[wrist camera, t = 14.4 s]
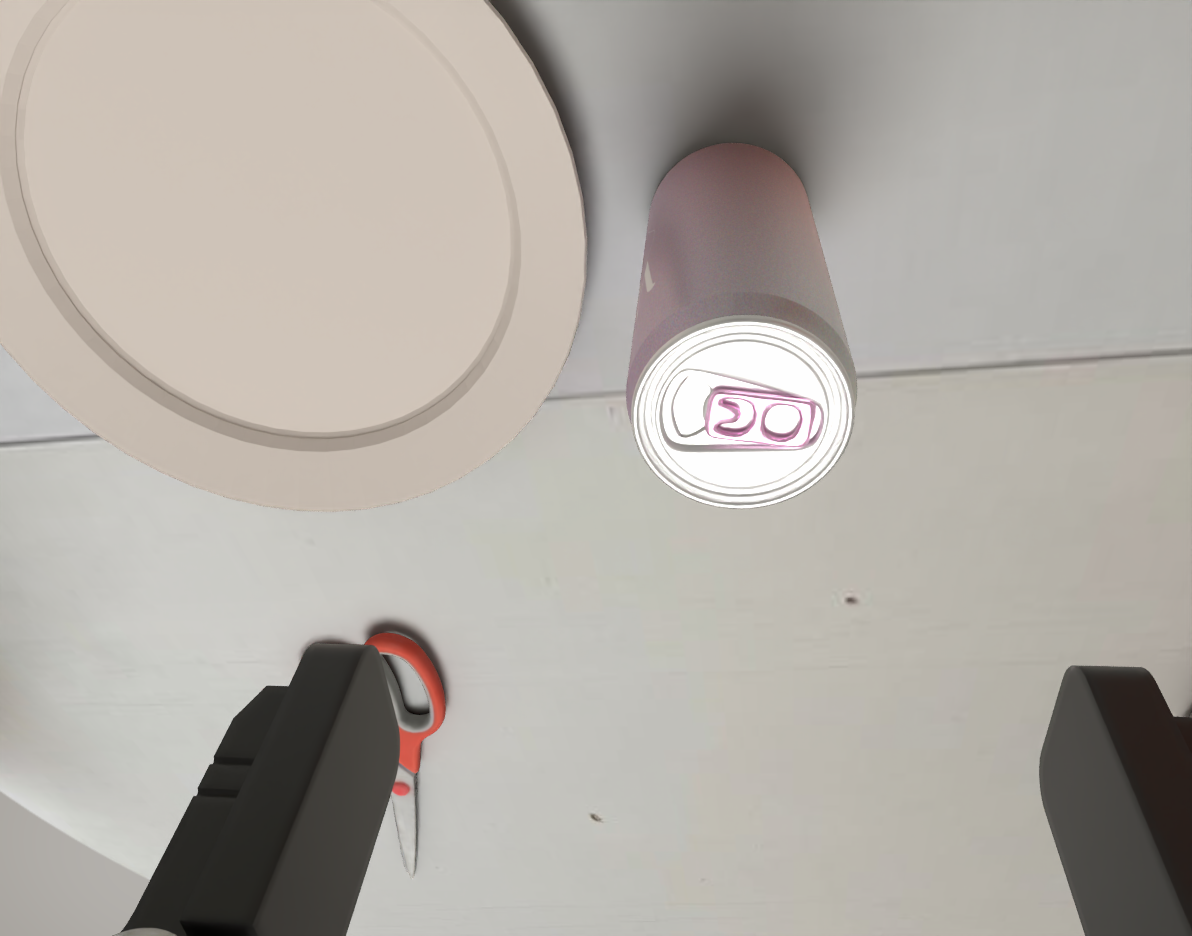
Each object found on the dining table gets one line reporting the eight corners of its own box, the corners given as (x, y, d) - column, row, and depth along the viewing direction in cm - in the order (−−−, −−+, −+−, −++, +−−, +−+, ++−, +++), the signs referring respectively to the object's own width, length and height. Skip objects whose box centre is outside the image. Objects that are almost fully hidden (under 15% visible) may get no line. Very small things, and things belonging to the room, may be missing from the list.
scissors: (405, 875, 63) (399, 895, 62) (285, 634, 52) (275, 653, 50) (520, 870, 61) (517, 891, 60) (423, 621, 50) (416, 641, 49)
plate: (272, 565, 49) (257, 591, 47) (-186, 125, 38) (-227, 139, 37) (715, 317, 39) (715, 339, 38) (268, -362, 29) (242, -372, 27)
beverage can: (792, 299, 39) (834, 528, 26) (641, 282, 39) (613, 502, 26) (823, 146, 35) (890, 326, 23) (659, 128, 36) (635, 298, 23)
